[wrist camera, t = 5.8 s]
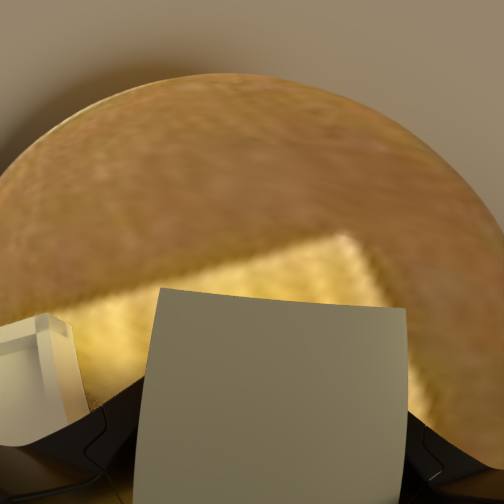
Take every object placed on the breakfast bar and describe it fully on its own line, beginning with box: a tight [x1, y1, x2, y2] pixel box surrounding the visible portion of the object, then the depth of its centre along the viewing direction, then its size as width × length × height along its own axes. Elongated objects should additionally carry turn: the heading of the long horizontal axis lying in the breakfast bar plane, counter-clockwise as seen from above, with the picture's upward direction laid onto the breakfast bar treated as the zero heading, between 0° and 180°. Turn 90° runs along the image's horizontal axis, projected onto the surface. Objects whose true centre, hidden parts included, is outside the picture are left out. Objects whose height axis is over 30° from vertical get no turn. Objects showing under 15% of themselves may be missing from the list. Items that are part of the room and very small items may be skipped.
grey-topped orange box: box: [133, 288, 408, 504], centre depth 9 cm, size 5×5×11 cm
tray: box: [0, 312, 90, 446], centre depth 12 cm, size 12×12×3 cm
